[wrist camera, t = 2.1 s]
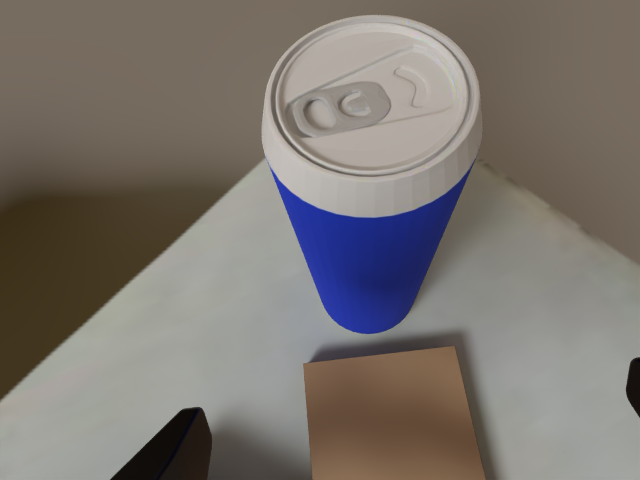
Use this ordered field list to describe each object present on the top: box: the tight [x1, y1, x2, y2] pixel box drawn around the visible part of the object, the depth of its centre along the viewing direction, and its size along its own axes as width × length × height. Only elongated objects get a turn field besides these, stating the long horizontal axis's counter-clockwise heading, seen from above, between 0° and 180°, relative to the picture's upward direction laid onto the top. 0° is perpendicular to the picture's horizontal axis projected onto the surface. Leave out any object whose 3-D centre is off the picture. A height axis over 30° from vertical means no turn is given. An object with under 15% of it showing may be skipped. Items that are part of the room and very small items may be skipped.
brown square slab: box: [303, 346, 486, 480], centre depth 19 cm, size 8×8×1 cm
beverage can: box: [262, 15, 483, 334], centre depth 15 cm, size 5×5×15 cm
